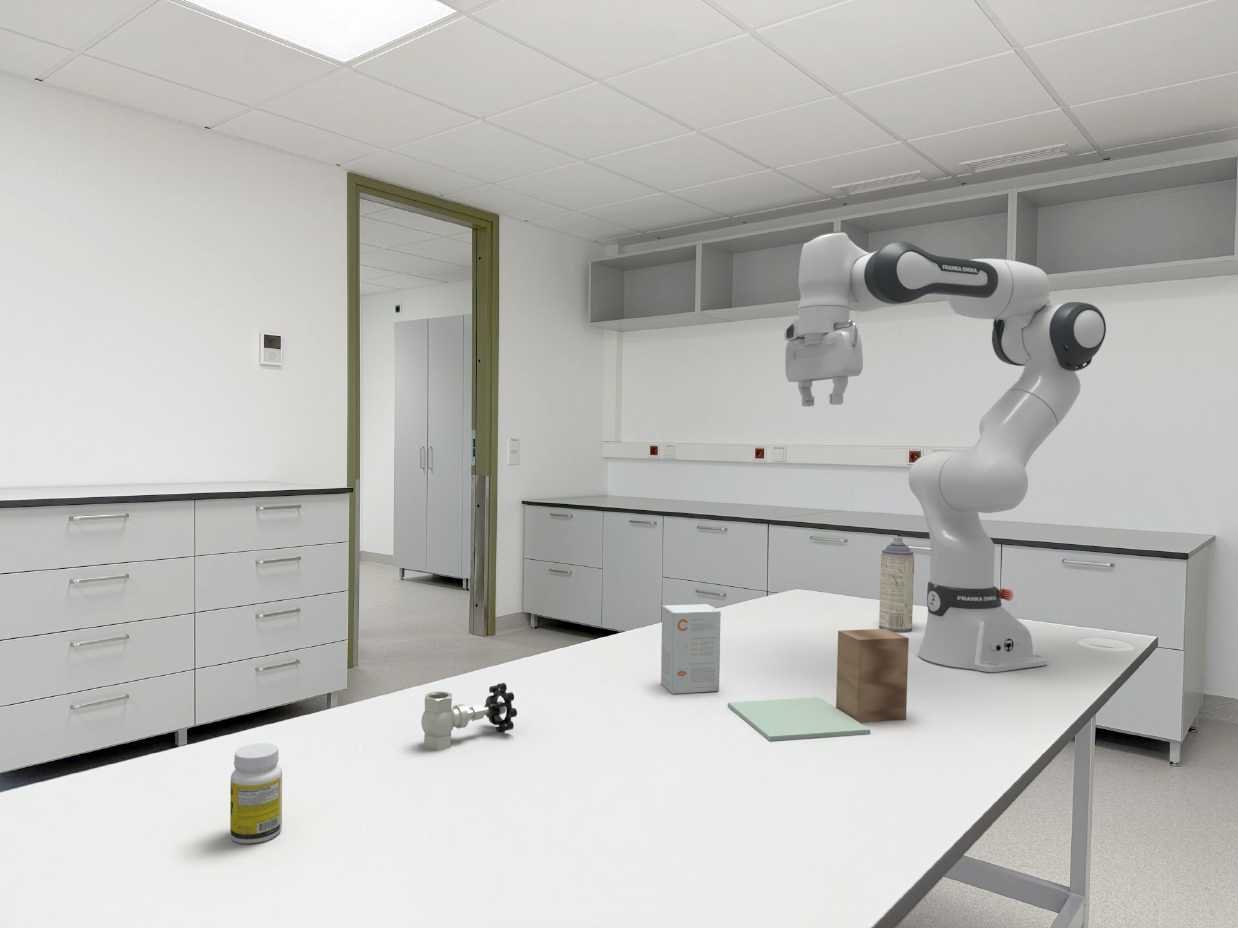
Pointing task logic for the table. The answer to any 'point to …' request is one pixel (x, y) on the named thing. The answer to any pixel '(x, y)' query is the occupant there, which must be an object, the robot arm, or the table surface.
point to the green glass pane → (797, 718)
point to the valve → (462, 715)
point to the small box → (690, 648)
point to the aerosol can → (896, 587)
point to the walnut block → (872, 675)
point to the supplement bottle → (256, 794)
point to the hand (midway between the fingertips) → (821, 405)
